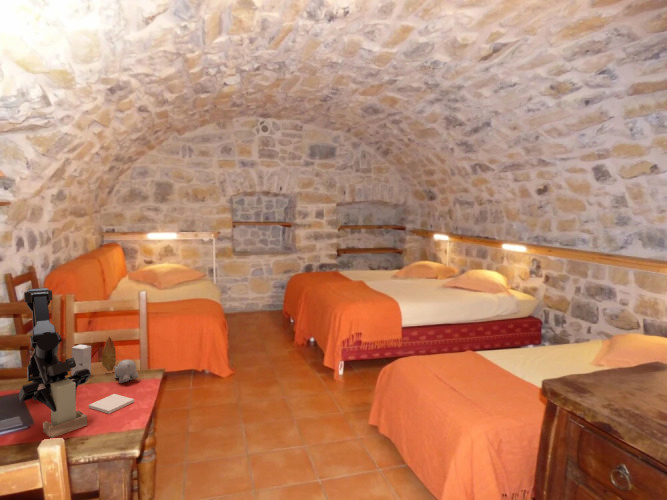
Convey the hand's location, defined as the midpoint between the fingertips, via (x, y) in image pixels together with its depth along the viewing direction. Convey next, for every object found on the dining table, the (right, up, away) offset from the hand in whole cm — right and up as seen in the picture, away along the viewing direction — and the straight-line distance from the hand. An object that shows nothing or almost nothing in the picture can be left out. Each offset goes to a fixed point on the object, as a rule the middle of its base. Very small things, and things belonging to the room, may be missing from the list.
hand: (65, 407), depth 128 cm
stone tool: (-12, -3, +47) cm, 49 cm away
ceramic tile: (+5, -5, +17) cm, 19 cm away
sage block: (-1, -6, +1) cm, 7 cm away
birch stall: (0, -7, 0) cm, 7 cm away
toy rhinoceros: (-1, -4, +38) cm, 38 cm away
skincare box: (-21, -3, +42) cm, 47 cm away
